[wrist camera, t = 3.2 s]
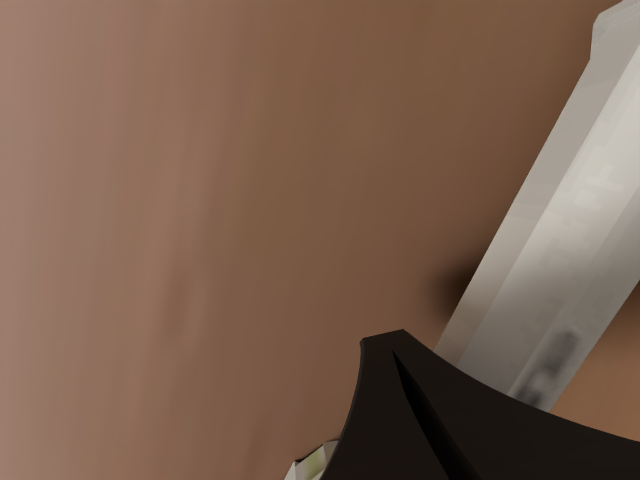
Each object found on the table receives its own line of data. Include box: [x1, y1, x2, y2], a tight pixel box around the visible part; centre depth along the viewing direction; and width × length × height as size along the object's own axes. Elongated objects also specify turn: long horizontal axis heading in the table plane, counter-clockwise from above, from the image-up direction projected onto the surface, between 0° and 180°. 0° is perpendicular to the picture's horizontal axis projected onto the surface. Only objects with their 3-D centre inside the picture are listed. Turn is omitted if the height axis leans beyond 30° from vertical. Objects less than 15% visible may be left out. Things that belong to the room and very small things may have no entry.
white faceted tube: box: [284, 0, 640, 480], centre depth 11 cm, size 5×7×25 cm
